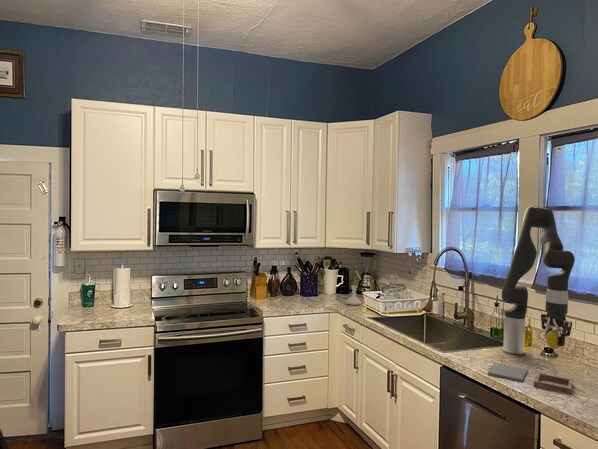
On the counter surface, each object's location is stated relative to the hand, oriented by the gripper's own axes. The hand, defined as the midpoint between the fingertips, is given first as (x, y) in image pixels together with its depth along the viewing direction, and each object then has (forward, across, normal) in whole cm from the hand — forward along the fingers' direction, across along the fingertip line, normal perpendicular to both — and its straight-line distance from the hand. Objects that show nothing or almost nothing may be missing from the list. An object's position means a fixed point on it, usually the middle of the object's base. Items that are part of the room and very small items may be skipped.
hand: (554, 343), depth 172 cm
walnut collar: (+17, 0, 0) cm, 17 cm away
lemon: (+3, 0, 0) cm, 3 cm away
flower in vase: (+18, +160, +31) cm, 164 cm away
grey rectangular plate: (+17, +14, +9) cm, 24 cm away
